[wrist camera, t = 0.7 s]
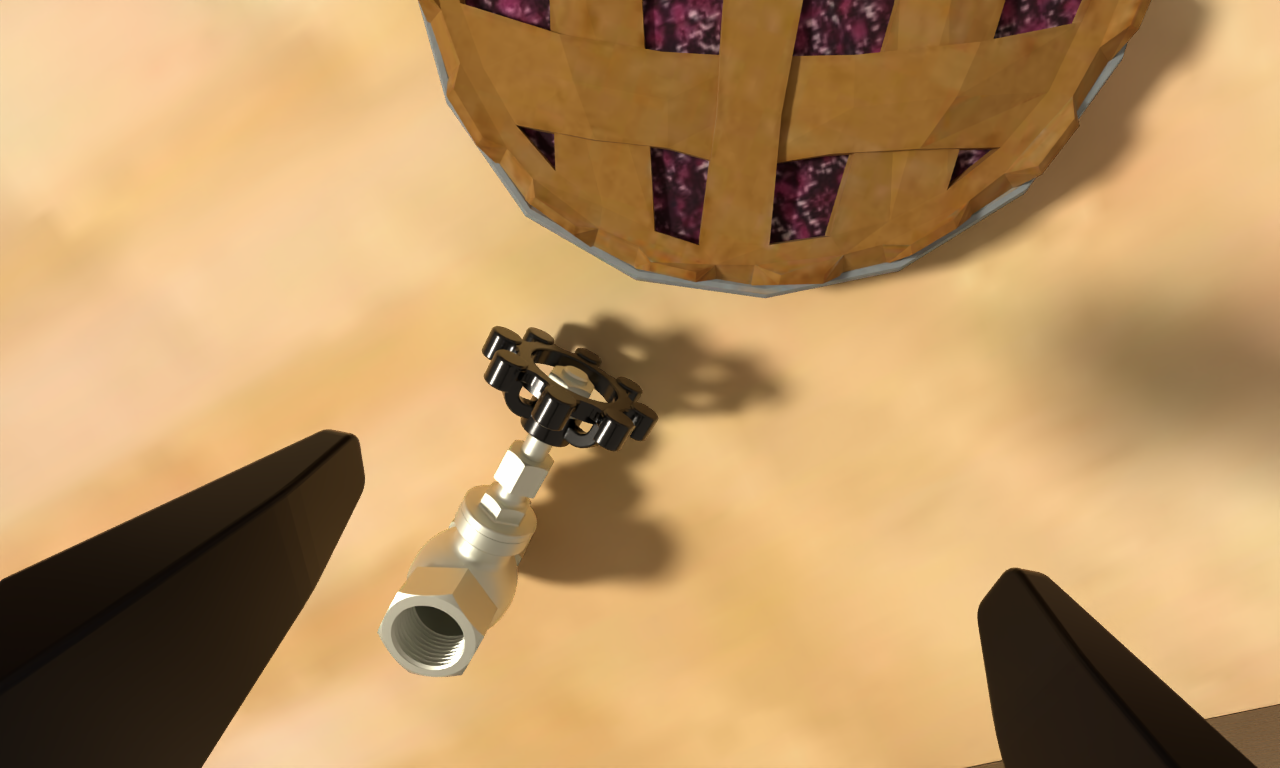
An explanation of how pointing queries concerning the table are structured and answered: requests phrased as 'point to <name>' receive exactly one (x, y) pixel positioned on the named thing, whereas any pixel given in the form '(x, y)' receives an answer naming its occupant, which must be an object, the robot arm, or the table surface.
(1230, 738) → the grey slotted block
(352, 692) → the table surface
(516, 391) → the valve
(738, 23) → the pie
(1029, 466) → the table surface
